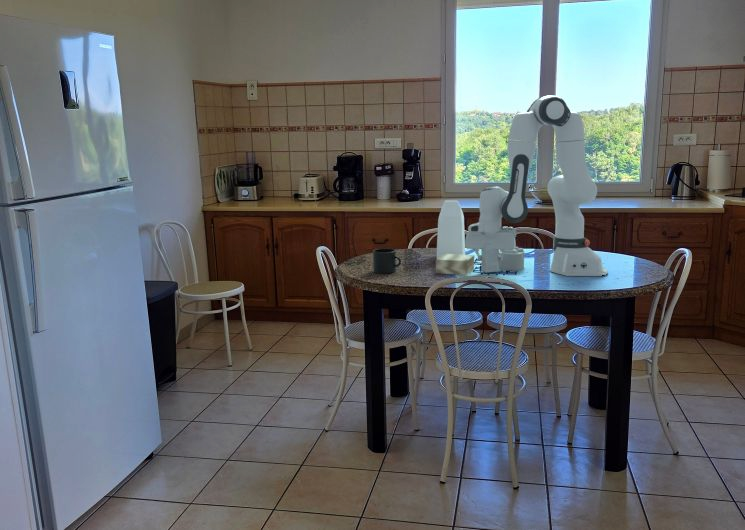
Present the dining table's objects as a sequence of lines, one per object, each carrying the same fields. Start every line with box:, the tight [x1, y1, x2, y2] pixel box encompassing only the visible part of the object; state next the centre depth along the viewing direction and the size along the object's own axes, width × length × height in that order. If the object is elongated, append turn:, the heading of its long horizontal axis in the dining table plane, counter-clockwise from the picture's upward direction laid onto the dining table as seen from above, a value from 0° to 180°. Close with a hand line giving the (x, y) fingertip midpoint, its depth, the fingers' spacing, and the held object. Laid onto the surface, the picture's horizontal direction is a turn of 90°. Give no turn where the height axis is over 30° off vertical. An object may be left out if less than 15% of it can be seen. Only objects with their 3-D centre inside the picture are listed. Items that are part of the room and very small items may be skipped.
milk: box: [435, 200, 466, 258], centre depth 299 cm, size 12×12×26 cm
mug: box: [372, 248, 402, 275], centre depth 271 cm, size 9×12×9 cm
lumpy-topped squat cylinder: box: [499, 246, 525, 272], centre depth 276 cm, size 10×13×9 cm
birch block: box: [435, 254, 475, 276], centre depth 272 cm, size 13×13×6 cm
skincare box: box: [480, 243, 500, 274], centre depth 267 cm, size 6×4×12 cm
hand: (490, 260), depth 268 cm, fingers closed on skincare box, 7 cm apart
